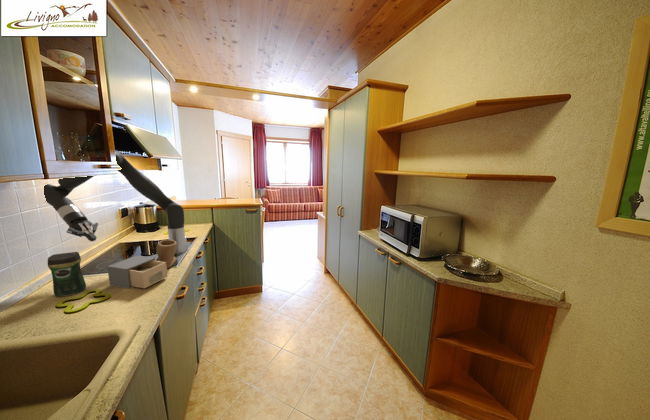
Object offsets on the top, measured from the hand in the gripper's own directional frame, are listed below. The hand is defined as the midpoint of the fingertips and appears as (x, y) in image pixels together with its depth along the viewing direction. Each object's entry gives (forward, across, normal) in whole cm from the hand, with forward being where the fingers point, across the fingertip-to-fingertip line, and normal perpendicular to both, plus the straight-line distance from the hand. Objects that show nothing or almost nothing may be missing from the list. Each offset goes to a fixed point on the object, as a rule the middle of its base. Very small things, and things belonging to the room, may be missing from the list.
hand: (94, 240), depth 117 cm
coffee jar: (+19, -16, +8) cm, 26 cm away
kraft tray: (+32, 0, -7) cm, 33 cm away
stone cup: (+30, +19, -2) cm, 36 cm away
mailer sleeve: (+30, 0, -3) cm, 30 cm away
